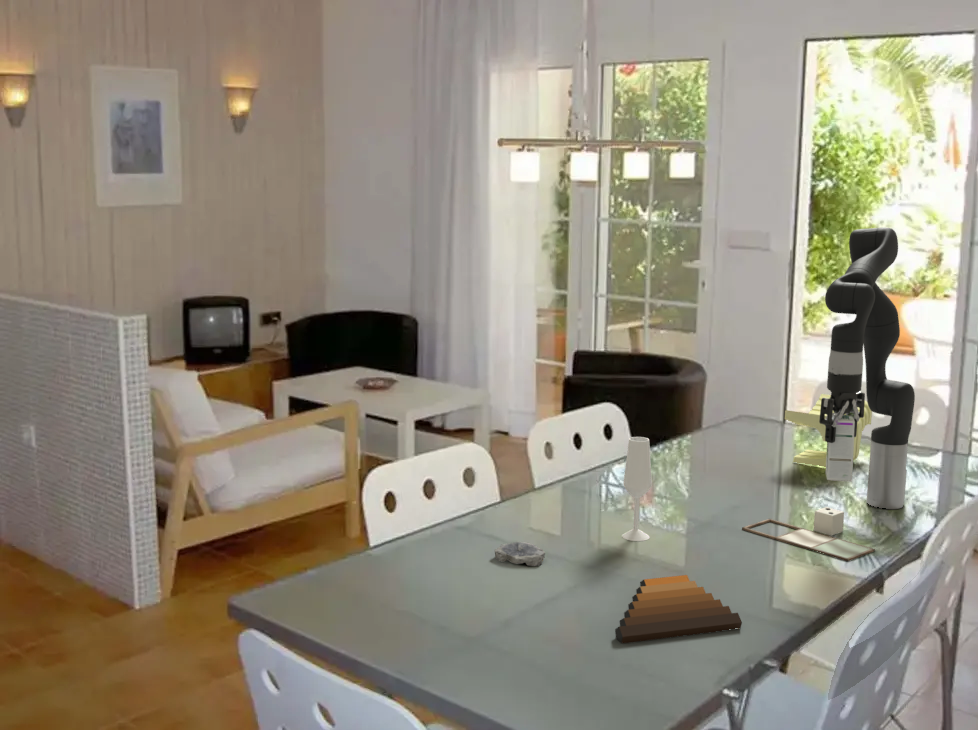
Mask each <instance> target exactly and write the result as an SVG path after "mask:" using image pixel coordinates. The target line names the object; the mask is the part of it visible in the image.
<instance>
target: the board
mask: <svg viewBox="0 0 978 730" xmlns="http://www.w3.org/2000/svg"><path fill="white" fill-rule="evenodd" d="M767 523H773V524H777V525H781V526H785V527H788V528H791V529H793V530H792V531H790V532H785V533H783V534H781V535H778V536H775V535H772V534H768V533H765V532H762V531H758V530H755V529H752V528H754V527H758V526H761V525H764V524H767ZM794 529H795V530H794ZM741 530H743V531H745V532H749V533H753V534H756V535H758V536H762V537H765V538H768V539H772V540H776V541H780V542H783V543H786V544H789V545H791V546H792V545H793V546H795V547H798V548H802V549H805V548H806V550H808V549H810V550H809V551H812V550H814V551H813V552H815V551H818V552H821V553H820V554H822V553H824V554H823V555H825V554H826V556H828V555H829V557H833V558H835V559H839V560H842V561H846V562H850V561H852V560H856V559H859V558H861V557H863V556H866V555H868V554H870V553H873V552H875V551H876V550H875V548H873V547H871V546H870V547H869V546H866V545H863V544H859V543H856V542H852V541H848V540H845V539H842V538H837V537H834V536H833V535H832V536H831V535H827V534H824V533H821V532H817V531H814V530H811V529H806V528H803V527H800V526H796V525H792V524H789V523H787V522H786V523H785V522H782V521H778V520H775V519H772V518H768V519H764V520H761V521H759V522H754V523H752V524H749V525H746V526H743V527H741ZM818 552H817V553H818Z"/></svg>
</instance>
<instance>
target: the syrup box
mask: <svg viewBox="0 0 978 730" xmlns="http://www.w3.org/2000/svg"><path fill="white" fill-rule="evenodd" d="M833 419H834V418H832V421H833ZM835 427H836V435H835V442H834V443H829V442H826V452H827V454H826V469H825V478H826V480H827V481H835V482H852V480H853V470H854V469H853V468H854V467H853V466H854V461H853V451H854V427H855V421H854V418H853V416H851V415H842V418H841V419H839V420H838V422H837V424H836V426H835Z"/></svg>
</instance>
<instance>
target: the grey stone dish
mask: <svg viewBox="0 0 978 730" xmlns="http://www.w3.org/2000/svg"><path fill="white" fill-rule="evenodd" d="M545 554H546V551H544V550H543V548H540V547H538V546H536V545H535V544H533V543H530V542H525V541H515V542H511V543H508V542H507V543H505V544H504V543H503V544H500V546H499V547H497V548H496V549H494V558H495V559H496V560H497V561H498V562H501V563H504V562H507V561H508V562H510V563H512V564H515V565H517V564H524V563H525V564H526V565H527V566H531V567H538V566H541V565H542V564H543V560H544V559H545Z"/></svg>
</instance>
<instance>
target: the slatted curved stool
mask: <svg viewBox="0 0 978 730" xmlns="http://www.w3.org/2000/svg"><path fill="white" fill-rule="evenodd" d="M830 397H831V394H825V393H820V396H819V397H818V399H817V401H816V402H815V405H814V406H813V407H812V408H811V410H810V411H809V412H803V411H802V412H801V411H794V410H787V409H785V411H784V420H785V421H788V422H791V423H793V424H795V425H801V426H806V427H809V428H813V429H816V430H817V431H818V433H819V434H820V435H821V439H822V442H825V443H827V442H826V441H825V429H826V426H825V425H824V424H820V422H819V420H820V410H821V400H822V398H828V399H829V398H830ZM857 408H858V411H859V412H860V408H859V407H857ZM833 413H834V411H833ZM872 414H873V412H872V411H871V410H870V408H869V406H868V402H867V400H865V405H864V417H863V418H860V419H859V421H858V422H857V433H856V437H854V451H853V462H854V461H855V460H856V459H858V457H859V454H860V447H861V443H862V435H863V431H864V430H865V428H866V426H868V425H872V416H873V415H872ZM844 415H846V414H844ZM826 417H827V414H825V418H824V419H826ZM826 454H827V451H822V450H821V451H820V450H814V449H813V450H812V449H808V448H807V449H805V450H804V451H802V452H800V453H798V454H797V455H794V457H793V461H792V463H793V462H797V463H805V464H812V465H819V466H824V467H826Z"/></svg>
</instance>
